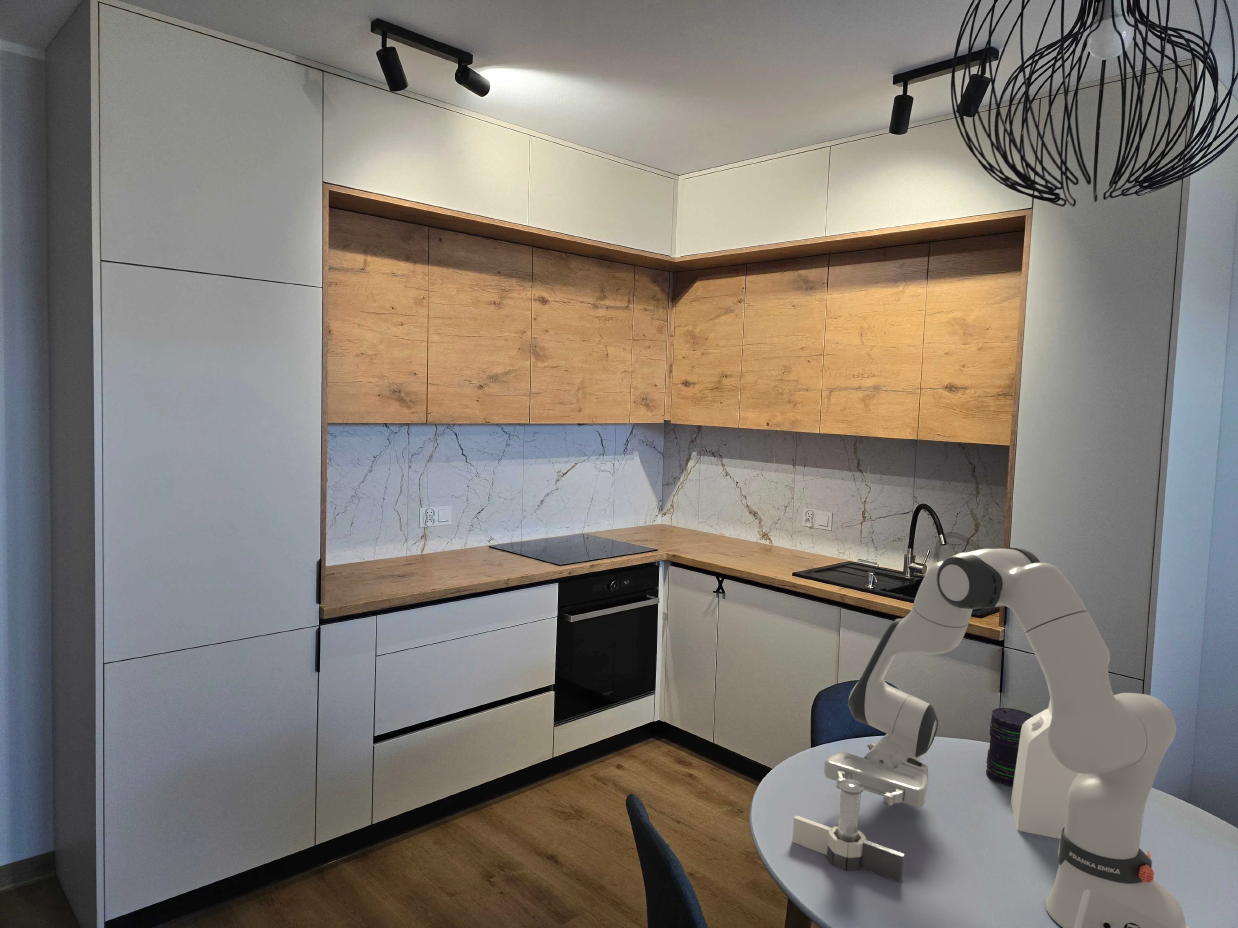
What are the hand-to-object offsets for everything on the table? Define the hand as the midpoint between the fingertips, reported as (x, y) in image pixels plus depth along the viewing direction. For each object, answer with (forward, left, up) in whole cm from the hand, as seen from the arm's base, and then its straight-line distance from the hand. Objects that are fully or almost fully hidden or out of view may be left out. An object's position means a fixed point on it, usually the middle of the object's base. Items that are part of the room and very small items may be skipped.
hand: (863, 793), depth 165 cm
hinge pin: (0, +8, -10) cm, 13 cm away
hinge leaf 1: (+4, +8, -10) cm, 13 cm away
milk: (-28, -33, -10) cm, 45 cm away
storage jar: (-18, -50, -10) cm, 54 cm away
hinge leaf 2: (-4, +8, -10) cm, 13 cm away
